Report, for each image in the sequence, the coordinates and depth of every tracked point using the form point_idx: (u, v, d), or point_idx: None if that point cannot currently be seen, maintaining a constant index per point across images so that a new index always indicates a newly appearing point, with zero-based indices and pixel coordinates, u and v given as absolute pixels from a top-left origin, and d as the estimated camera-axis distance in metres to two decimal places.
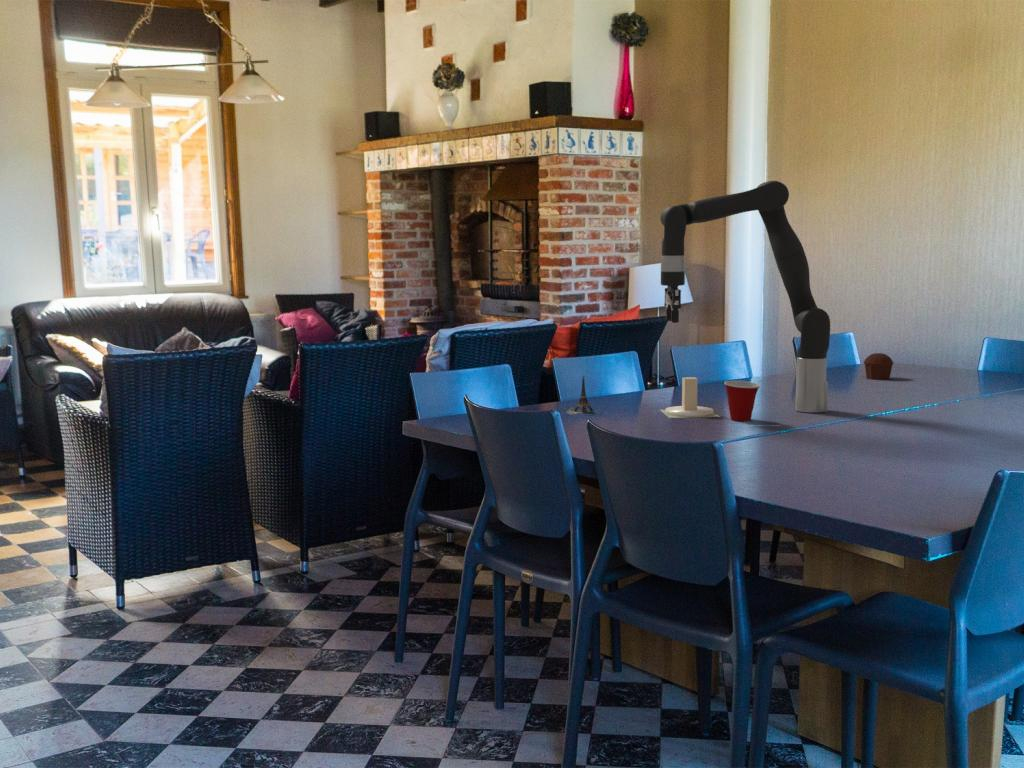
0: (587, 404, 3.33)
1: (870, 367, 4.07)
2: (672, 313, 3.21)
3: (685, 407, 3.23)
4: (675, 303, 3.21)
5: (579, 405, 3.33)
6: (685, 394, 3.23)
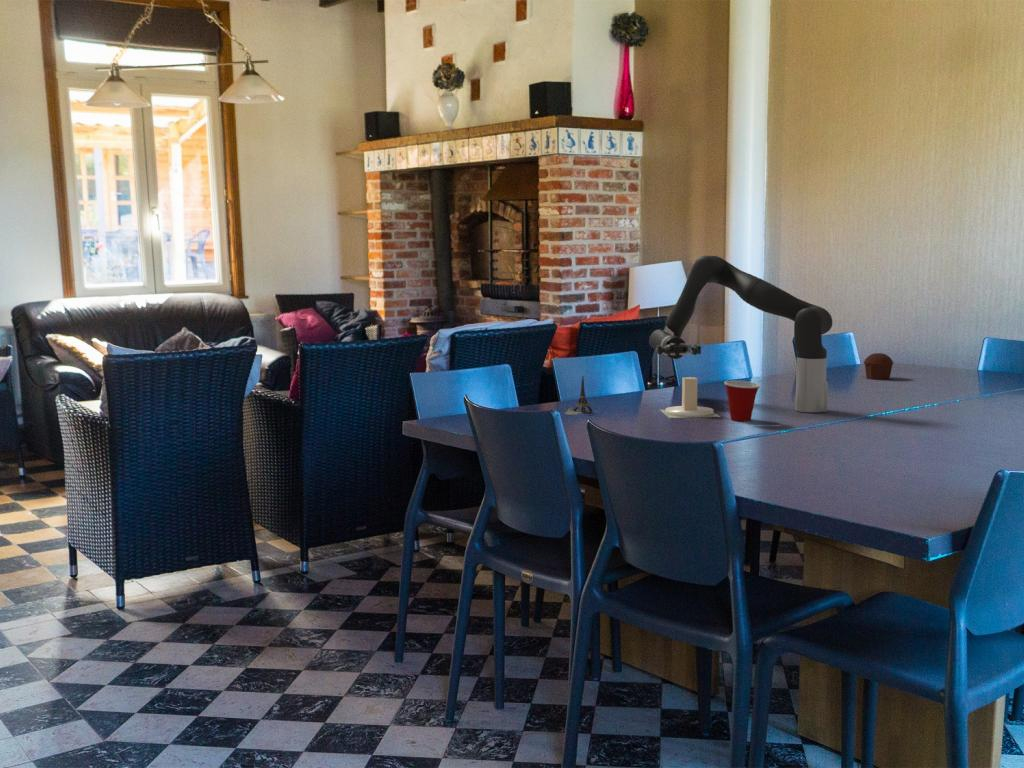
0: (586, 404, 3.33)
1: (870, 367, 4.07)
2: (666, 353, 3.37)
3: (685, 407, 3.23)
4: None
5: (578, 405, 3.33)
6: (685, 394, 3.23)
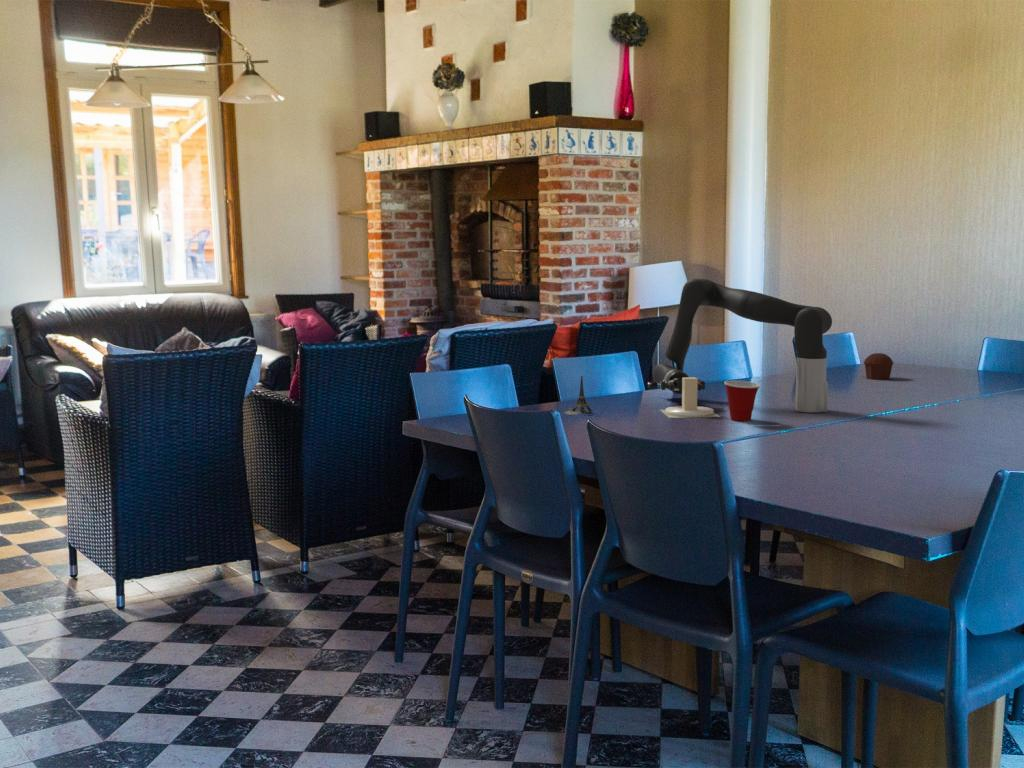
0: (585, 404, 3.33)
1: (870, 367, 4.07)
2: None
3: (685, 407, 3.23)
4: None
5: (577, 405, 3.33)
6: (685, 394, 3.23)
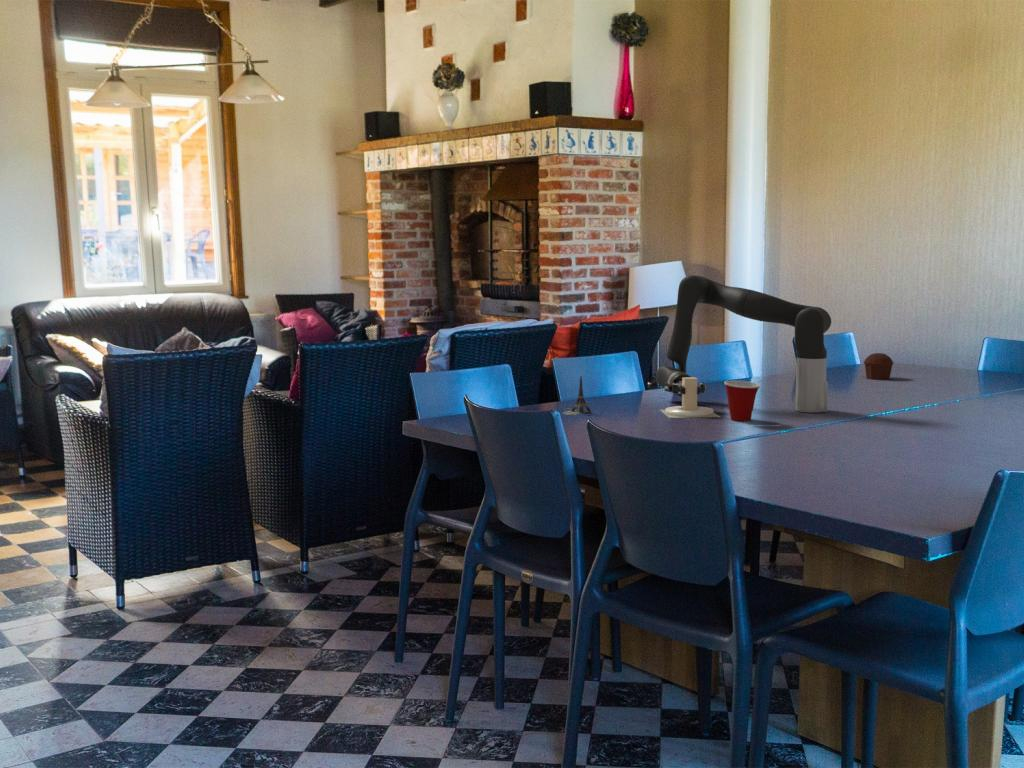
0: (584, 404, 3.33)
1: (870, 367, 4.07)
2: None
3: (685, 407, 3.23)
4: None
5: (576, 405, 3.33)
6: (685, 394, 3.23)
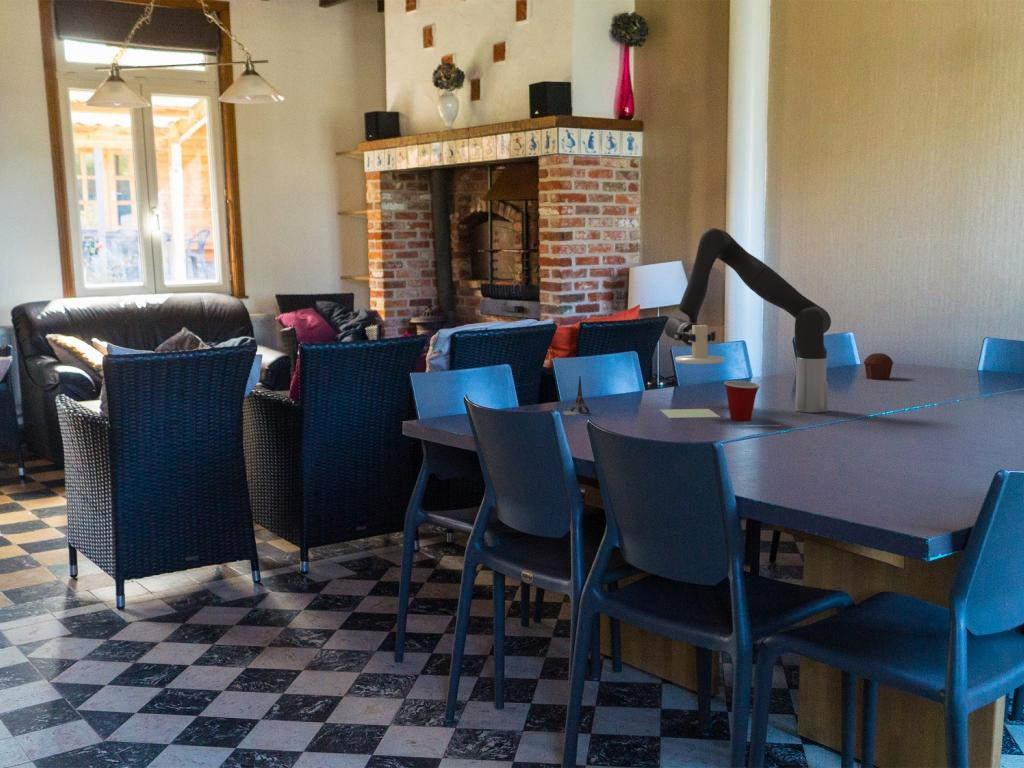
0: (583, 404, 3.33)
1: (870, 367, 4.07)
2: (691, 340, 3.20)
3: (695, 355, 3.19)
4: None
5: (575, 405, 3.33)
6: (695, 341, 3.18)
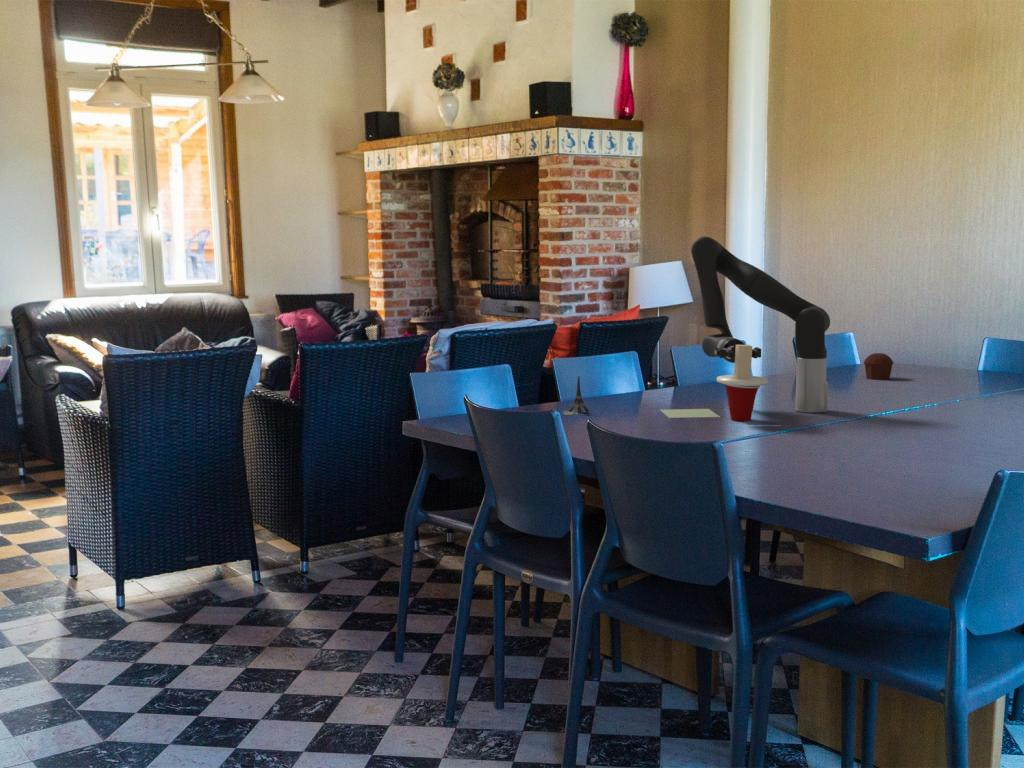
0: (582, 404, 3.33)
1: (870, 367, 4.07)
2: (729, 357, 3.10)
3: (738, 376, 3.09)
4: None
5: (574, 405, 3.33)
6: (739, 362, 3.08)
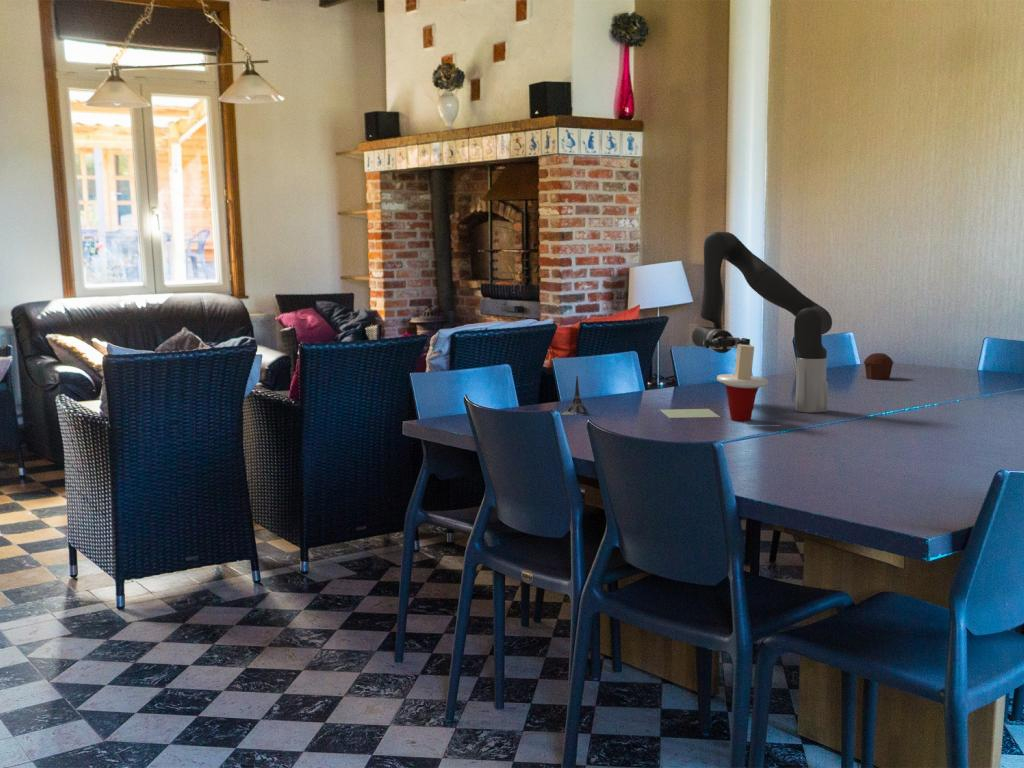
0: (581, 404, 3.33)
1: (870, 367, 4.07)
2: (714, 347, 3.25)
3: (739, 376, 3.09)
4: None
5: (573, 405, 3.33)
6: (740, 362, 3.08)
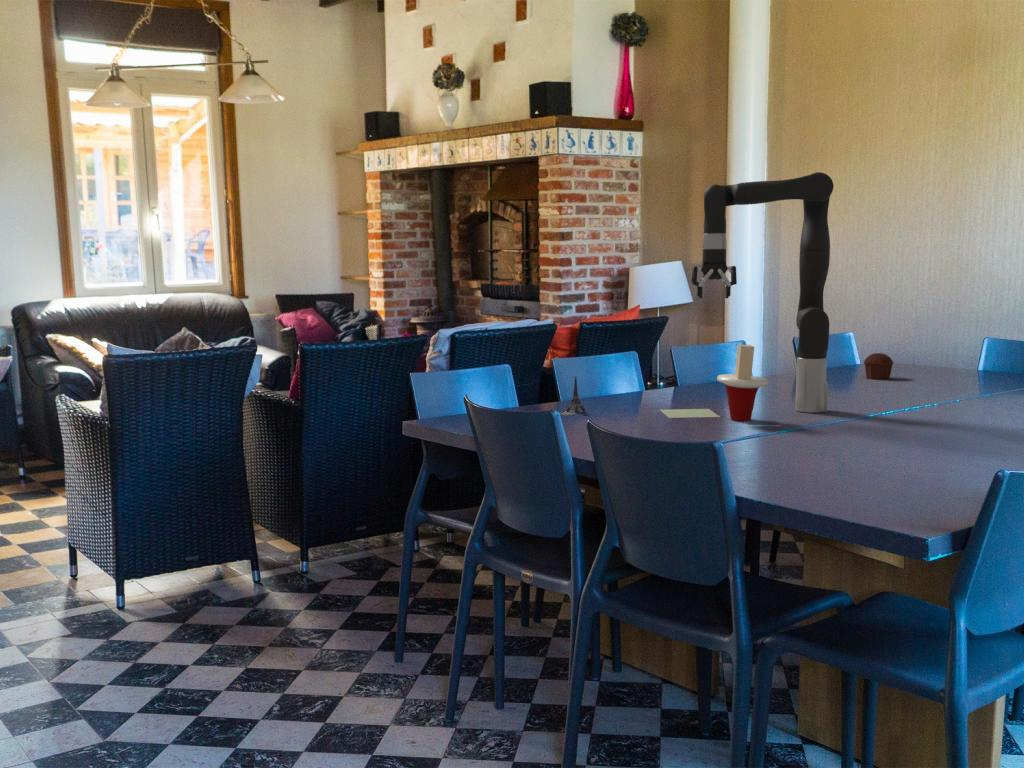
0: (579, 404, 3.33)
1: (870, 367, 4.07)
2: None
3: (739, 376, 3.08)
4: None
5: (571, 405, 3.33)
6: (740, 362, 3.08)
